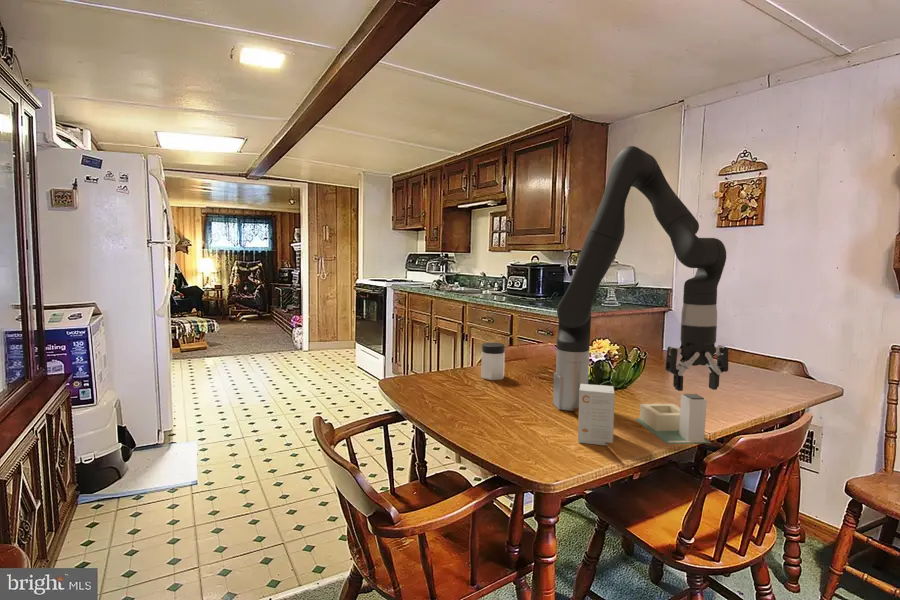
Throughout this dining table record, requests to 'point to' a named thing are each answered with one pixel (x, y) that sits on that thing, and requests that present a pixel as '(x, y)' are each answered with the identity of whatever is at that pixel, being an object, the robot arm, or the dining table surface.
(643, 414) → the beige square socket
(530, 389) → the dining table surface
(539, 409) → the dining table surface
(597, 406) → the small box
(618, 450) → the dining table surface
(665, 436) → the board
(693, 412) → the plug
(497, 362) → the jar
